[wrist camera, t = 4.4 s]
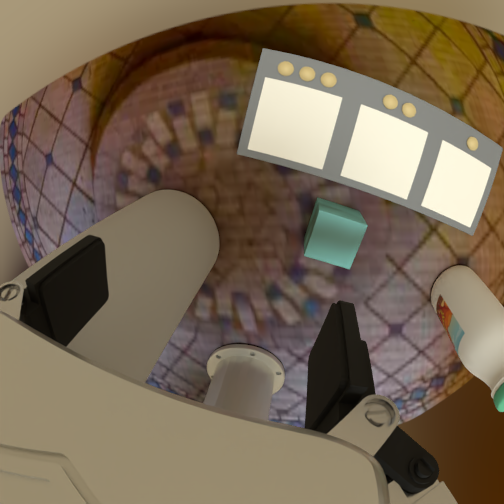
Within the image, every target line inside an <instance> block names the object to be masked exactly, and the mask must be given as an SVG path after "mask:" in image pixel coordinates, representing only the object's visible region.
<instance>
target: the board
mask: <svg viewBox="0 0 504 504" xmlns="http://www.w3.org/2000/svg"><path fill="white" fill-rule="evenodd" d="M502 149H503V148H502V147H500V146H499V145H498V144H496V143H495V142H493V141H492V140H490V139H489V138H487V137H486V136H484V135H483V134H481V133H480V132H478V131H477V130H475V129H473V128H472V127H470V126H469V125H467V124H465V123H464V122H462V121H460V120H459V119H457V118H455V117H453V116H452V115H450V114H448V113H446V112H444V111H442V110H441V109H439V108H437V107H435V106H433V105H431V104H429V103H427V102H425V101H423V100H421V99H419V98H417V97H415V96H413V95H410V94H408V93H406V92H404V91H402V90H399V89H397V88H395V87H392V86H390V85H387V84H385V83H382V82H380V81H377V80H375V79H372V78H370V77H367V76H364V75H361V74H359V73H356V72H353V71H350V70H347V69H344V68H341V67H337V66H334V65H331V64H327V63H324V62H320V61H317V60H313V59H309V58H305V57H301V56H297V55H293V54H289V53H284V52H279V51H274V50H269V49H264V48H263V50H262V54H261V58H260V61H259V65H258V69H257V73H256V77H255V81H254V84H253V88H252V92H251V96H250V100H249V104H248V109H247V113H246V117H245V121H244V125H243V129H242V134H241V138H240V142H239V146H238V151H237V154H238V155H243V156H247V157H251V158H255V159H259V160H263V161H266V162H270V163H274V164H278V165H281V166H285V167H289V168H292V169H296V170H299V171H302V172H306V173H309V174H313V175H316V176H319V177H322V178H325V179H329V180H332V181H335V182H338V183H341V184H344V185H347V186H350V187H353V188H356V189H359V190H362V191H365V192H367V193H370V194H373V195H376V196H379V197H381V198H384V199H387V200H389V201H392V202H395V203H397V204H400V205H402V206H405V207H407V208H410V209H412V210H415V211H417V212H420V213H422V214H425V215H427V216H429V217H432V218H434V219H437V220H439V221H441V222H443V223H446V224H448V225H450V226H452V227H455V228H457V229H459V230H461V231H463V232H466V233H468V234H470V235H472V236H473V234H474V232H475V229H476V227H477V224H478V222H479V220H480V217H481V214H482V212H483V209H484V207H485V204H486V201H487V198H488V196H489V193H490V190H491V187H492V184H493V181H494V178H495V174H496V171H497V168H498V164H499V161H500V157H501V153H502Z"/></svg>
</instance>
